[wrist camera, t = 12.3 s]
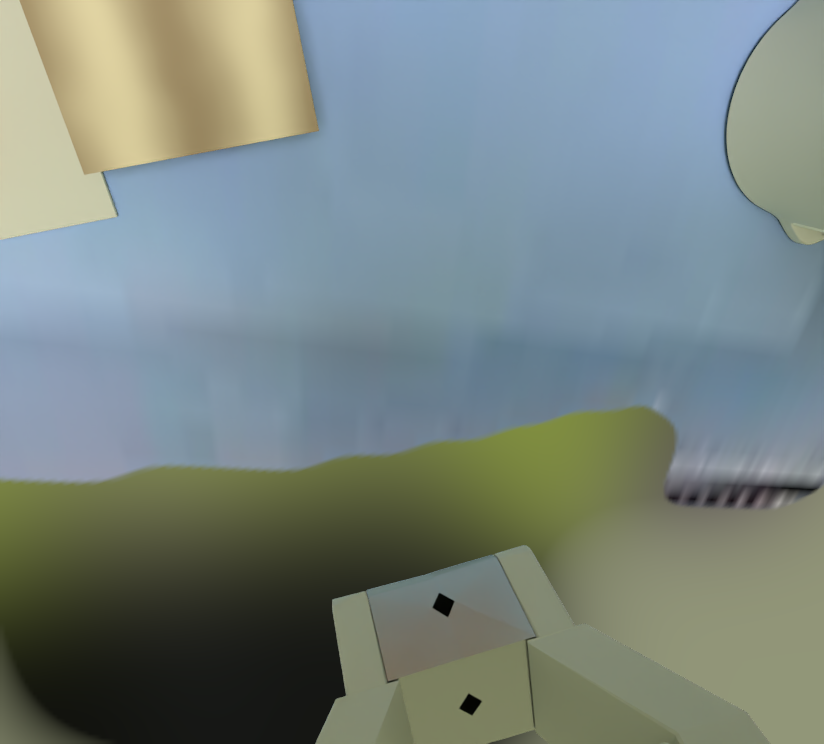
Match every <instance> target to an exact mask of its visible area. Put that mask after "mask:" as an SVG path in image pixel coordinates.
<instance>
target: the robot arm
mask: <svg viewBox="0 0 824 744" xmlns="http://www.w3.org/2000/svg"><path fill="white" fill-rule="evenodd" d="M727 153H728V159H729V163H730V167H731V170H732V173H733V176H734V178H735V180H736V182H737V184H738V186H739V187H740V189H741V190H742V192H743V193H744V194H745V195H746V196H747V197H748V198H749V199H750V200H751V201H752V202H753V203H754V204H756V205H757V206H759V207H760V208H762V209H764V210H766V211H768V212H770V213H771V214H773V215H774V216H776V217H777V218H778V219H779V221H780V223H781V225H782V226H783V228H784V230H785V232H786V233H787V235H788V236H789V238H790V239H791V240H792V241H794V242H796V243H800V244H805V245H811V244H815V243H817V242H819V241H822V240H824V0H799V1H798V2H797V3H796V4H795V5H794V6H793V7H792V8H791V9H790V10H789V11H788V12H787V13H786V14H785V15H783V16H782V17H781V18H780V19H779V20H778V21H777V22H776V23H775V24H774V25H773V26H772V27H771V29H770V30H769V31H768V32H767V33H766V35H765V36H764V37H763V38H762V40H761V41H760V42H759V44H758V45H757V47H756V48H755V50H754V51H753V53H752V54H751V56H750V58H749V60H748V61H747V63H746V65H745V67H744V69H743V71H742V73H741V76H740V78H739V80H738V83H737V85H736V88H735V91H734V94H733V98H732V101H731V105H730V110H729V115H728V122H727ZM367 594H368V597H367ZM368 599H369V600H368ZM332 602H333V603H332V611H333V617H334V622H335V629H336V635H337V641H338V647H339V654H340V659H341V665H342V672H343V678H344V684H345V690H346V696H344V697H341V698H338V699H336V700H335V703H334V705H333V707H332V709H331V711H330V713H329V715H328V718H327V720H326V722H325V724H324V726H323V728H322V731H321V733H320V735H319V737H318V739H317V741H316V743H315V744H487V743H490V742H494V741H497V740H501V739H504V738H508V737H511V736H514V735H518V734H521V733H524V732H528V731H531V730H535V729H536V733H537V734H538V735H539V736H541V737H542V738H543V739H544V740H545V741H547V742H548V743H549V744H770V742H769V741H768V740H767V738H766V737H765V736H764V735H763V733H762V732H761V730H760V729H759V728H758V726H757V725H756V724H755V723H754V721H753V720H752V719H751V717H750V716H749V715H748V713H747V712H745V711H744V710H742V709H740V708H738V707H736V706H734V705H733V704H731V703H729V702H727V701H725V700H724V699H722V698H720V697H718V696H716V695H714V694H713V693H711V692H709V691H707V690H705V689H704V688H702V687H700V686H698V685H696V684H694V683H693V682H691V681H689V680H687V679H685V678H684V677H682V676H680V675H678V674H676V673H674V672H672V671H671V670H669V669H667V668H665V667H663V666H662V665H660V664H658V663H656V662H654V661H652V660H650V659H649V658H647V657H645V656H643V655H642V654H640V653H638V652H636V651H634V650H633V649H631V648H629V647H627V646H625V645H623V644H622V643H619V642H618V641H616V640H614V639H613V638H611V637H609V636H607V635H605V634H603V633H601V632H600V631H598V630H596V629H594V628H592V627H590V626H589V625H587V624H581V625H577V626H575V625H574V623H573V622H572V620H571V618H570V616H569V615H568V613H567V611H566V609H565V608H564V606H563V604H562V602H561V601H560V599H559V597H558V596H557V594H556V592H555V591H554V589H553V587H552V585H551V584H550V582H549V580H548V578H547V577H546V575H545V573H544V571H543V570H542V568H541V566H540V564H539V563H538V561H537V559H536V557H535V556H534V554H533V552H532V551H531V549H530V548H529V547H527V546H526V545H523V546H520V547H517V548H513V549H509V550H506V551H503V552H499V553H496V554H494V556H493V555H490V556H486V557H483V558H479V559H476V560H472V561H469V562H466V563H462V564H459V565H456V566H452V567H449V568H445V569H442V570H439V571H435V572H432V573H430V574H427V575H423V576H419V577H415V578H411V579H408V580H404V581H400V582H396V583H392V584H388V585H384V586H380V587H377V588H372V589H369V590H367V593H366V591H364V592H360V593H356V594H352V595H349V596H345V597H341V598H336V599H333V601H332ZM369 603H370V604H369ZM370 607H371V608H370Z"/></svg>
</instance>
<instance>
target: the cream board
mask: <svg viewBox="0 0 824 744" xmlns="http://www.w3.org/2000/svg"><path fill="white" fill-rule="evenodd" d="M117 216H118V214H117V211H116V208H115V205H114V203H113V200H112V197H111V194H110V192H109V189H108V186H107V183H106V180H105V178H104V175H103V172H97V173H91V174H86V175H84V173H83V170H82V167H81V165H80V162H79V159H78V157H77V154H76V151H75V149H74V146H73V143H72V141H71V138H70V135H69V132H68V130H67V127H66V124H65V122H64V119H63V116H62V114H61V111H60V108H59V106H58V103H57V100H56V98H55V95H54V92H53V89H52V87H51V84H50V81H49V79H48V76H47V73H46V71H45V68H44V65H43V63H42V60H41V57H40V55H39V52H38V49H37V46H36V44H35V41H34V38H33V36H32V33H31V30H30V28H29V25H28V22H27V20H26V17H25V14H24V12H23V9H22V6H21V3H20V1H19V0H0V240H1V239H6V238H12V237H17V236H22V235H27V234H32V233H37V232H42V231H47V230H52V229H57V228H62V227H67V226H73V225H78V224H83V223H88V222H93V221H98V220H103V219H108V218H113V217H117Z"/></svg>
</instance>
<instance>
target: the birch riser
mask: <svg viewBox="0 0 824 744" xmlns="http://www.w3.org/2000/svg"><path fill="white" fill-rule="evenodd" d="M19 1H20V3H21V6H22V9H23V12H24V14H25V17H26V20H27V22H28V25H29V28H30V30H31V33H32V36H33V38H34V41H35V44H36V46H37V49H38V52H39V55H40V57H41V60H42V63H43V65H44V68H45V71H46V73H47V76H48V79H49V81H50V84H51V87H52V89H53V92H54V95H55V98H56V100H57V103H58V106H59V108H60V111H61V114H62V116H63V119H64V122H65V124H66V127H67V130H68V132H69V135H70V138H71V141H72V143H73V146H74V149H75V151H76V154H77V157H78V159H79V162H80V165H81V167H82V170H83V173H84V175H86V174H91V173H97V172H102V171H107V170H113V169H118V168H123V167H129V166H134V165H139V164H145V163H150V162H155V161H161V160H166V159H171V158H177V157H182V156H187V155H193V154H198V153H203V152H209V151H214V150H219V149H225V148H230V147H235V146H241V145H246V144H251V143H257V142H262V141H267V140H273V139H278V138H283V137H289V136H294V135H299V134H305V133H310V132H315V131H319V129H318V124H317V119H316V114H315V109H314V104H313V99H312V94H311V89H310V85H309V80H308V75H307V70H306V65H305V60H304V55H303V50H302V45H301V40H300V35H299V30H298V25H297V20H296V15H295V10H294V5H293V0H19Z"/></svg>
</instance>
